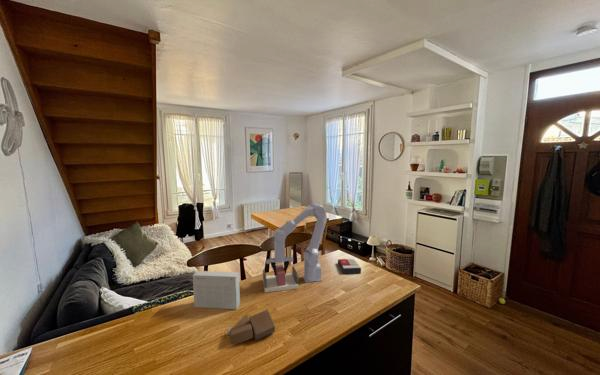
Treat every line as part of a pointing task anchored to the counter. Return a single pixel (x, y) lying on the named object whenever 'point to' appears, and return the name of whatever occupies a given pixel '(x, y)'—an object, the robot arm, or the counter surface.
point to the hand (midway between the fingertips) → (280, 274)
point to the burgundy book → (280, 275)
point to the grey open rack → (290, 283)
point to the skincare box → (216, 289)
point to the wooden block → (252, 327)
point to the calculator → (349, 266)
